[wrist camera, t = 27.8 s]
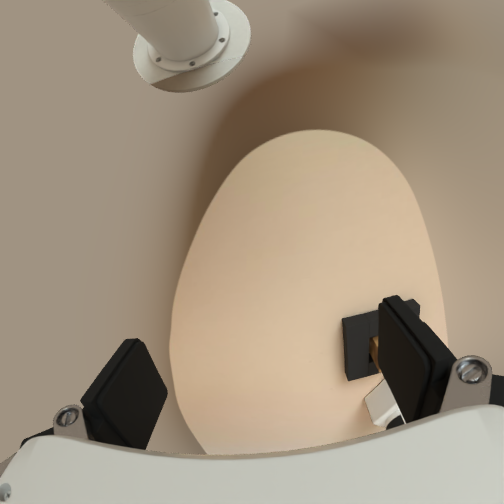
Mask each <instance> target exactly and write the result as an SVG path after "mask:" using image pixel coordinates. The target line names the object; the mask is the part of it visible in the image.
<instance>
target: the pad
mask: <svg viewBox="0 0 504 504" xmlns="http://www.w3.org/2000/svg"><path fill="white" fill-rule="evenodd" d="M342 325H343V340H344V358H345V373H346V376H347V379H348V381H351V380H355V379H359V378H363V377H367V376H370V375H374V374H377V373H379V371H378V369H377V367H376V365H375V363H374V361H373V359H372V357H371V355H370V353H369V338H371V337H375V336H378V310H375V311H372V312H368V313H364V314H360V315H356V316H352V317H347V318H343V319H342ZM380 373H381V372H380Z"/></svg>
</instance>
